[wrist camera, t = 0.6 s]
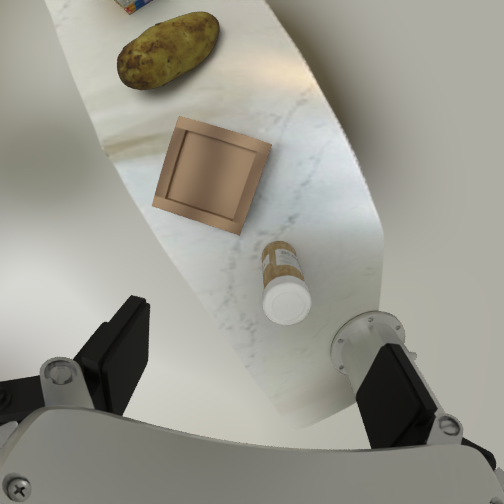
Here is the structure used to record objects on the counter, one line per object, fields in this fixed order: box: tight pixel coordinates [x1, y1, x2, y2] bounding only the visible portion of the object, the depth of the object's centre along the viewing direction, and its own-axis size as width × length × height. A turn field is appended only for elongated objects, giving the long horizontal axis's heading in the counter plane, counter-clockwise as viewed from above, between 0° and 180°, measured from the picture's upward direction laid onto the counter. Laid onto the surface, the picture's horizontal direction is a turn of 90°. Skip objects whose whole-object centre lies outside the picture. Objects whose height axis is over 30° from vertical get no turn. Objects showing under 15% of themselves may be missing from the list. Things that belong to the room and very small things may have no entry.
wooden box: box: [152, 116, 272, 235], centre depth 33 cm, size 10×10×7 cm
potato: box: [117, 12, 219, 90], centre depth 28 cm, size 8×13×8 cm, turn 110°
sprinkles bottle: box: [262, 241, 312, 325], centre depth 33 cm, size 5×5×14 cm
